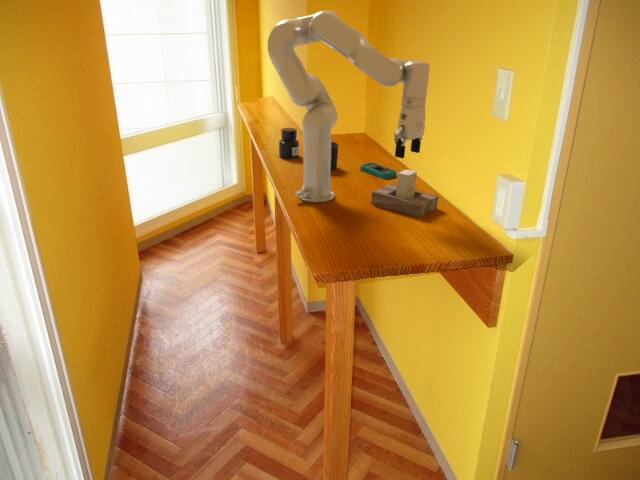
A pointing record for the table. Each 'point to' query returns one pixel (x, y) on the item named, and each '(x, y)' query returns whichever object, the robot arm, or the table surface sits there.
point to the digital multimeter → (378, 170)
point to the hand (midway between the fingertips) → (407, 154)
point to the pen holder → (334, 155)
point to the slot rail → (404, 201)
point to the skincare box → (406, 184)
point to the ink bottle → (289, 143)
